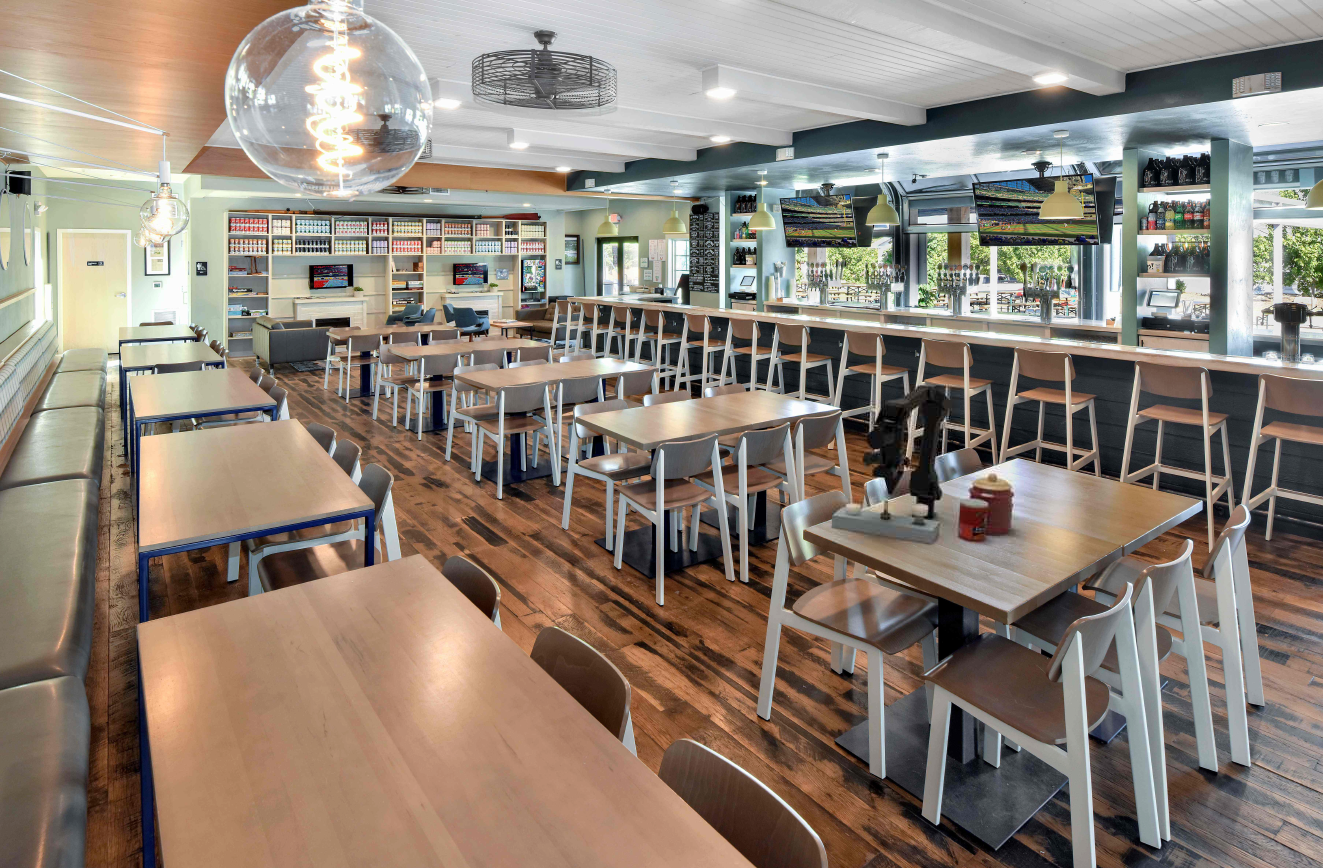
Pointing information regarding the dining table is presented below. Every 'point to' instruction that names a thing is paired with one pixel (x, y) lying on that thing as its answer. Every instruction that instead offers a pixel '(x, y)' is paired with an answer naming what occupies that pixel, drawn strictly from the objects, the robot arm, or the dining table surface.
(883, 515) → the pot stem
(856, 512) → the knob left
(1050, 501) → the dining table surface
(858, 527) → the mount
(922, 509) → the knob right
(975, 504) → the canned food
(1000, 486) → the canister
